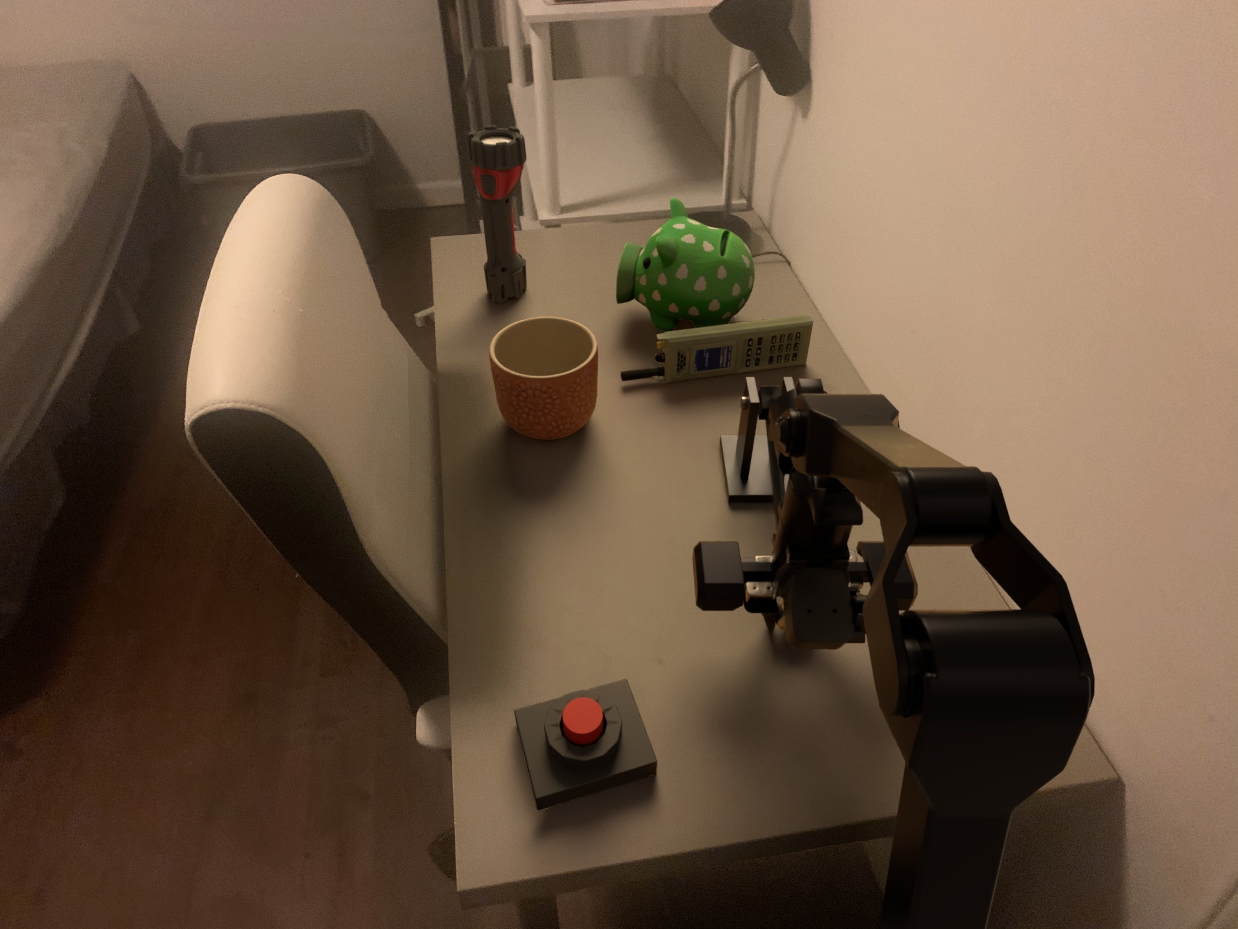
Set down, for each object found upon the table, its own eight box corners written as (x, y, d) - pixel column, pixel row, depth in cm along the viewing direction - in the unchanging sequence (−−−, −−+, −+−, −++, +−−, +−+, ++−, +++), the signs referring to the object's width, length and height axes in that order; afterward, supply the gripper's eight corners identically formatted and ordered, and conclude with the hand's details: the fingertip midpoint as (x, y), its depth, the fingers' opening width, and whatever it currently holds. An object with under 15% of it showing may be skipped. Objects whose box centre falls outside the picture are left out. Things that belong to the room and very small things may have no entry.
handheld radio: (808, 368, 106) (624, 392, 102) (799, 354, 108) (618, 378, 105) (816, 324, 102) (623, 348, 98) (806, 311, 104) (618, 334, 100)
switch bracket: (800, 502, 88) (819, 420, 80) (727, 502, 88) (738, 420, 80) (786, 442, 95) (802, 361, 87) (719, 442, 95) (728, 361, 87)
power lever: (806, 637, 75) (814, 627, 72) (772, 637, 75) (778, 627, 72) (780, 399, 87) (786, 383, 84) (751, 399, 87) (755, 383, 84)
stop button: (596, 703, 66) (596, 692, 65) (608, 738, 64) (607, 727, 63) (559, 714, 65) (558, 703, 64) (569, 749, 63) (568, 739, 62)
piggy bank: (632, 286, 121) (633, 190, 111) (752, 299, 118) (765, 202, 108) (612, 339, 111) (611, 239, 101) (743, 354, 108) (756, 253, 98)
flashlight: (527, 270, 125) (513, 119, 109) (543, 294, 120) (532, 139, 104) (478, 280, 123) (458, 127, 107) (493, 305, 117) (474, 148, 102)
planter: (606, 447, 95) (605, 372, 87) (500, 458, 93) (490, 383, 86) (592, 384, 103) (590, 311, 96) (496, 393, 102) (486, 320, 95)
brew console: (626, 691, 71) (626, 666, 68) (656, 774, 65) (658, 751, 63) (515, 723, 69) (511, 698, 66) (537, 811, 63) (533, 788, 61)
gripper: (708, 603, 59) (694, 706, 70) (961, 603, 59) (907, 706, 70) (698, 492, 67) (687, 601, 78) (921, 492, 67) (878, 601, 78)
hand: (787, 628), depth 76 cm, fingers closed on power lever, 3 cm apart
